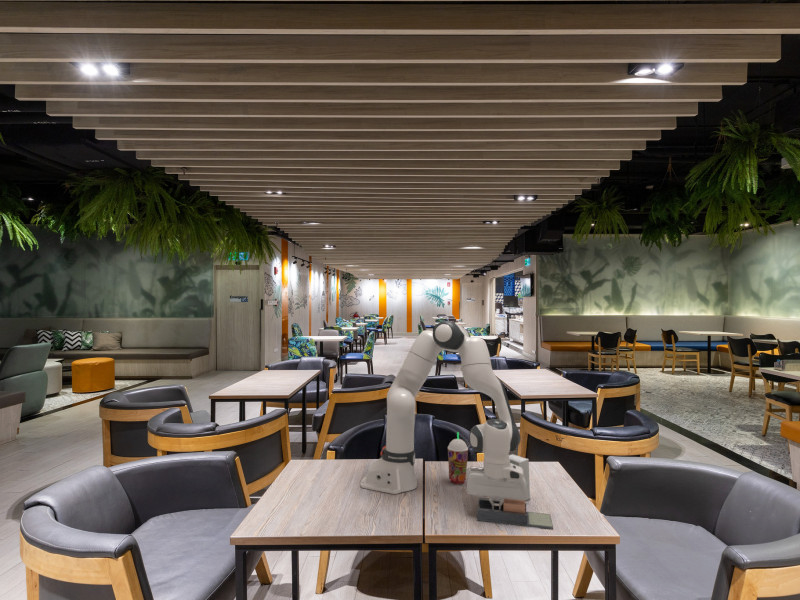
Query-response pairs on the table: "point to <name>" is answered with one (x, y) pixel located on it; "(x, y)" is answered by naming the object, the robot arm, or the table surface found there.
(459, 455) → the smoothie
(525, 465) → the skincare box
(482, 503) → the chute
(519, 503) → the block
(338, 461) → the table surface
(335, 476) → the table surface
